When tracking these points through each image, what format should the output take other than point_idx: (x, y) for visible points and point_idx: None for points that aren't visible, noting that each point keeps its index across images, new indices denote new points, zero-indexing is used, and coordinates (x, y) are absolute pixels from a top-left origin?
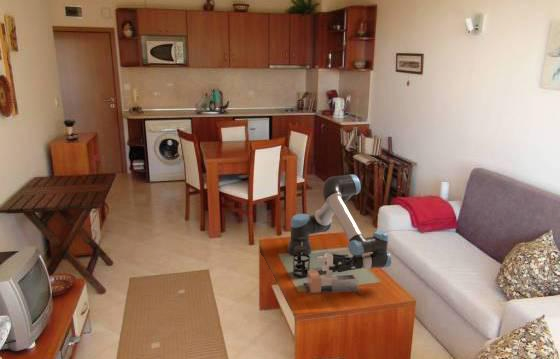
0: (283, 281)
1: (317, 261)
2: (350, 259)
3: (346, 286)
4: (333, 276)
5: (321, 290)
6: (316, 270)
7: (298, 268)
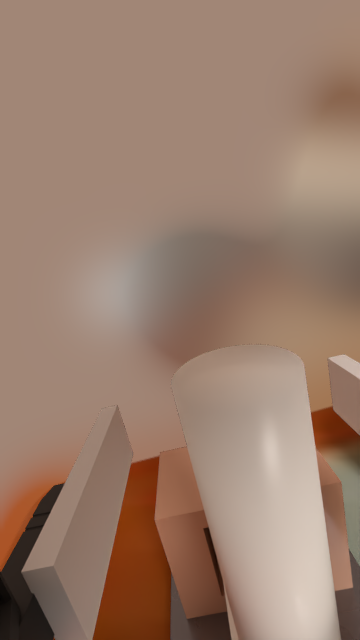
0: (324, 416)
1: (332, 402)
2: None
3: None
4: None
5: (218, 630)
6: (324, 478)
7: None
